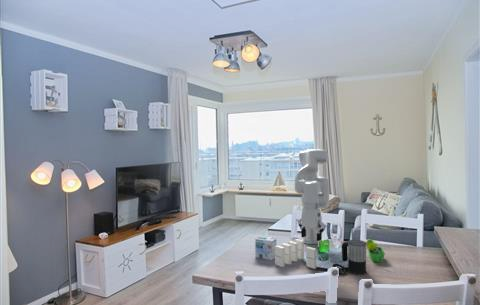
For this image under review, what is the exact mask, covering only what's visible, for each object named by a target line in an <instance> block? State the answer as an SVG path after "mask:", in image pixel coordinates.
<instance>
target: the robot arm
mask: <svg viewBox="0 0 480 305" xmlns="http://www.w3.org/2000/svg"><path fill="white" fill-rule="evenodd" d="M298 158H299V162H300V164H301V168H300V169H299V171H297V173H296V175H295V177H294V190H295V192H296V193H297V194H299V195H302V196H301V206H302V211H301V218H299V219H297V220H296V221H297V224H298V227H299V229H300V231H301V232H300V235H301V238H300V240H302V241H304V244H307V245H317V244H319V243H318V241H320V242H321V241H322V239H323V238H322V237H323V234H322V233H323V232H324V231H325V230H326V229H327V228H326V227H327V225H326V224H325V223H324V222H323V219H322V212H321V209H328V207H329V206H330V183H329V179H328V178H327V176H326V177H325V176H318V174H317V173H318V172H319V165H327V163H328V161H329V153H328V151H327V150H326V149H325V148H324V149H323V148H322V149H319V148H318V149H317V148H316V149H306V150H303V151H300V152H299V154H298Z"/></svg>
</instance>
